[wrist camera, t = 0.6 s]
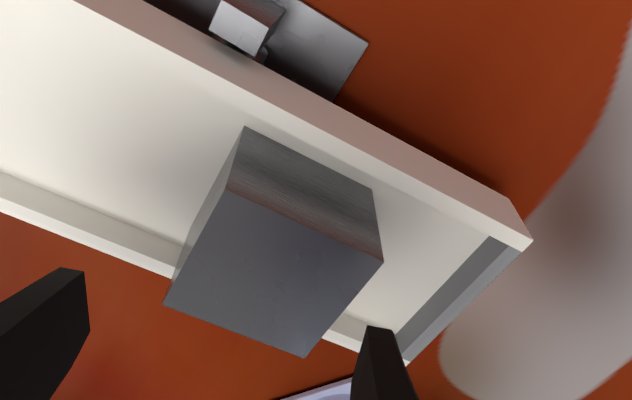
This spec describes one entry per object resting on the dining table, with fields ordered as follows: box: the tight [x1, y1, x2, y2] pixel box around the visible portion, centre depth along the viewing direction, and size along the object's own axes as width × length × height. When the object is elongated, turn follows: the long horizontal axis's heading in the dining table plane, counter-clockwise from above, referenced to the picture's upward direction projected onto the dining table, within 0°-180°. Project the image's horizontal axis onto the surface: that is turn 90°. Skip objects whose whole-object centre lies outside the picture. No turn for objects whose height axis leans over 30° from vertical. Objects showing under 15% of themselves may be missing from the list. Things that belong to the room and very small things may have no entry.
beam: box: [0, 0, 534, 367], centre depth 17 cm, size 28×8×3 cm, turn 60°
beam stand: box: [143, 0, 369, 103], centre depth 19 cm, size 8×12×4 cm, turn 151°
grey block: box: [162, 126, 384, 358], centre depth 16 cm, size 5×5×4 cm
